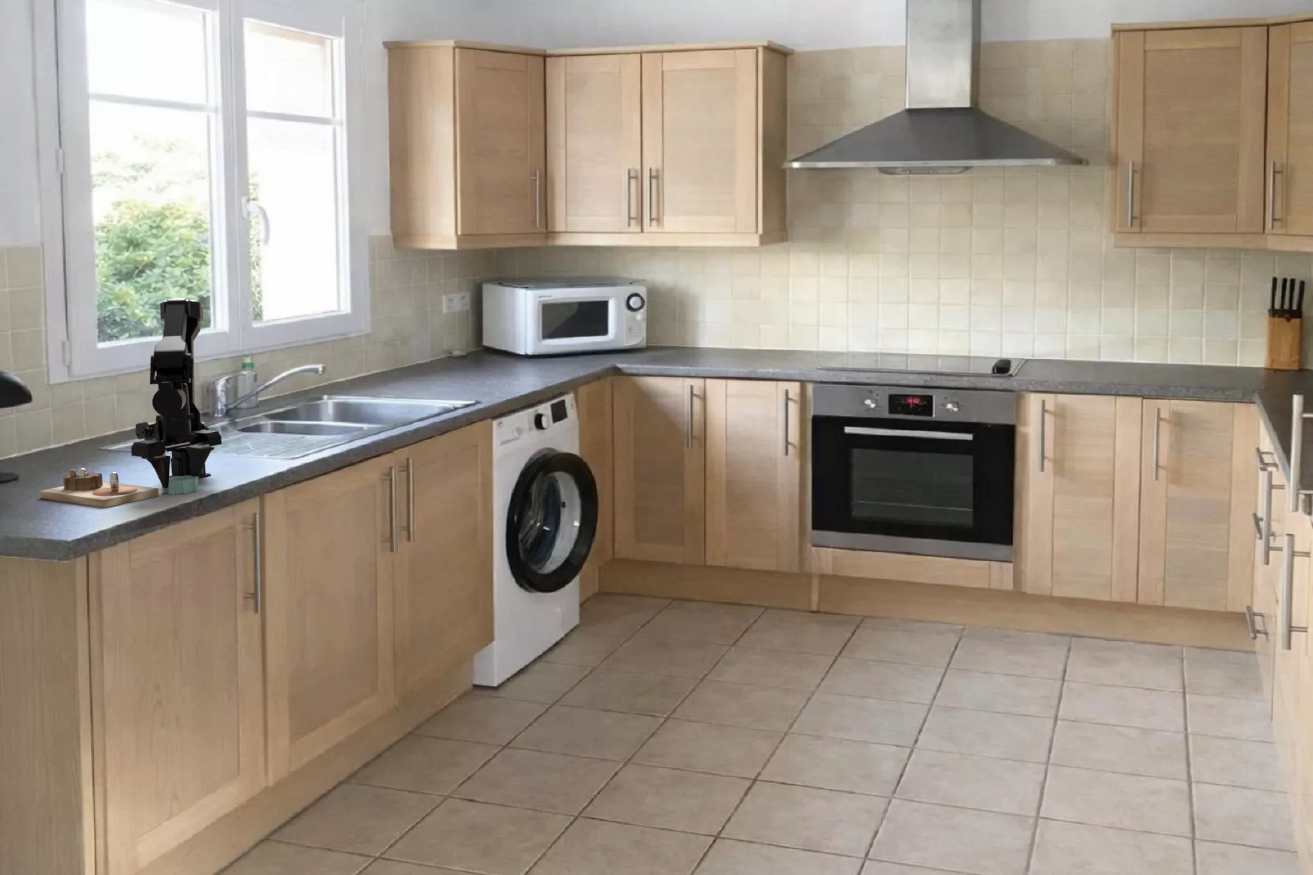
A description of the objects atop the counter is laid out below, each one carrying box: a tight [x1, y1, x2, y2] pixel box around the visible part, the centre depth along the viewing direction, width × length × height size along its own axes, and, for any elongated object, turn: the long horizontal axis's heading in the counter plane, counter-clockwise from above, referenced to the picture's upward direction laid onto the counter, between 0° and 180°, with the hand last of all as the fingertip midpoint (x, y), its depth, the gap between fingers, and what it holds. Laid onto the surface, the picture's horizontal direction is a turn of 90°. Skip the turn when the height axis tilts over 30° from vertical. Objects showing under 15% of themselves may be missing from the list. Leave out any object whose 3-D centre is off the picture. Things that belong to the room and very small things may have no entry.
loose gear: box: [161, 475, 200, 495], centre depth 295 cm, size 7×7×2 cm
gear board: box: [39, 480, 160, 508], centre depth 290 cm, size 13×20×2 cm, turn 58°
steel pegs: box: [77, 467, 120, 491], centre depth 290 cm, size 2×12×4 cm, turn 58°
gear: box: [62, 468, 103, 491], centre depth 293 cm, size 7×7×4 cm
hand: (180, 484), depth 295 cm, fingers closed on loose gear, 7 cm apart
